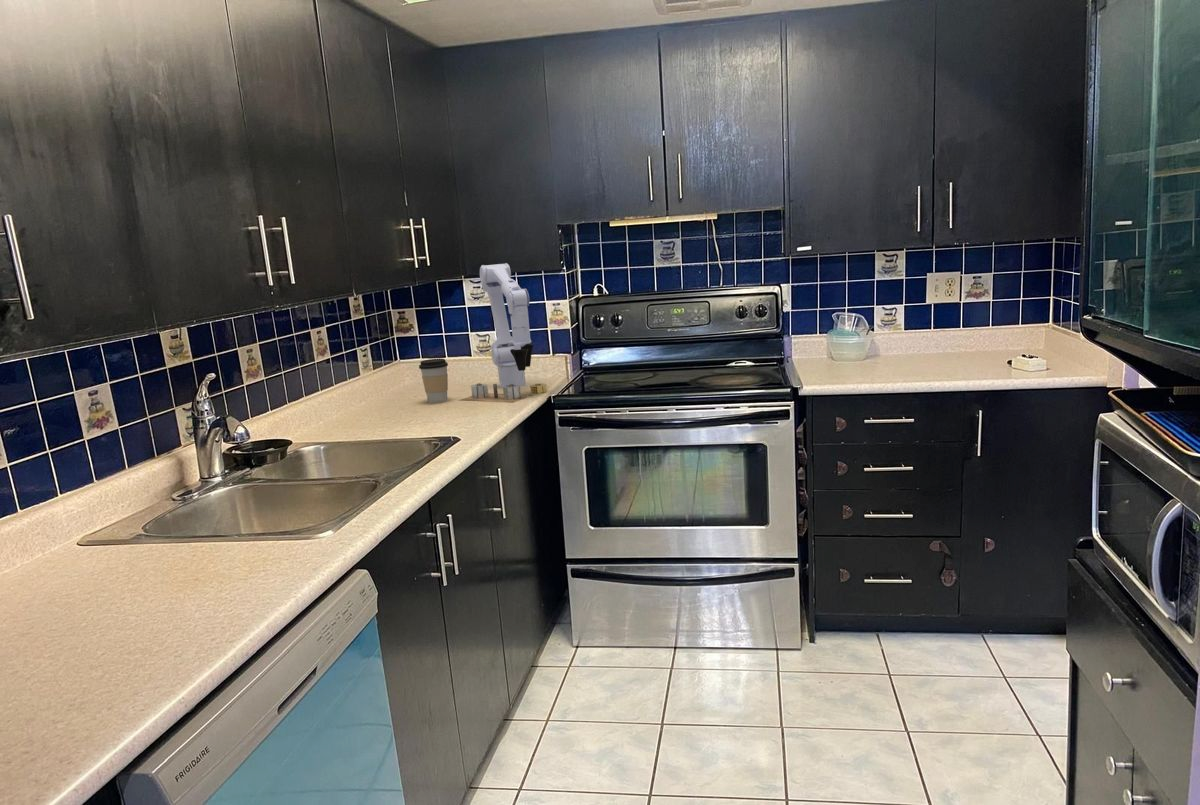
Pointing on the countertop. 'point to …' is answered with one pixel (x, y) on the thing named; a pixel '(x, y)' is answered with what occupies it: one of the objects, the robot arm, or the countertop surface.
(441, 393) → the coffee cup
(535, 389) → the brass gear
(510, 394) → the steel gear
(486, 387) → the steel gear
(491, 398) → the gear board
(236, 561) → the countertop surface
